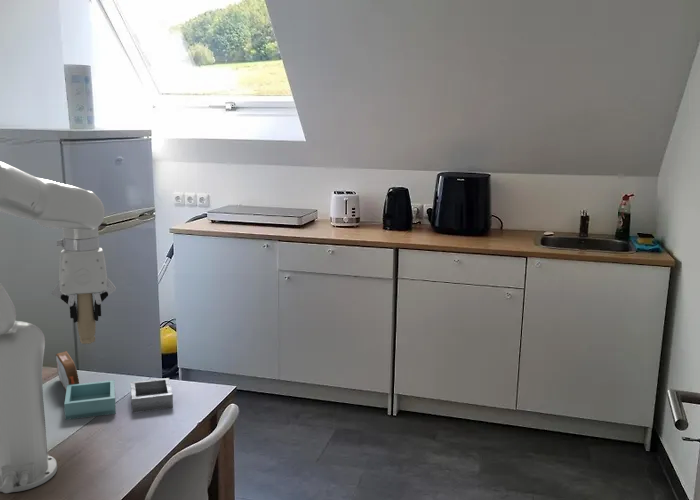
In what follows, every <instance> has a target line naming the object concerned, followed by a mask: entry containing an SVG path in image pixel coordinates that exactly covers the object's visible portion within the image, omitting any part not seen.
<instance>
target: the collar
mask: <svg viewBox="0 0 700 500" xmlns="http://www.w3.org/2000/svg"><path fill="white" fill-rule="evenodd" d="M130 395H131V397H130V398H131V399H130V400H131V410H132V414H134V413H143V412H149V411H159V410H165V409H167V410H168V409H173V408H174V400H173V398H174V395H173V389H172V385H171V381H170V377H166V378H165V377H164V378H156V379H147V380H139V381H137V380H136V381H130Z"/></svg>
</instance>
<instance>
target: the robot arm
mask: <svg viewBox="0 0 700 500" xmlns="http://www.w3.org/2000/svg"><path fill="white" fill-rule="evenodd" d="M104 206H105V205H104V204H103V202H102V200H101V199H100V197H99V196H98V195H96V193H95V192H94V191H92V190H87V189H84V188H81V187H78V186H74V185H70V184H65V183H62V182H61V183H60V182H56V181H53V180H50V179H46V178H41V177H36V176H35V175H32V174H30V173H28V172H26V171H23V170H21V169H19V168H17V167H14V166H12V165H10V164H8V163H5V162H4V161H0V212H1V213H3V214H7V215H9V216H13V217H16V218H19V219H24V220H31V221H35V222H36V223H37V225H39V226H40V227H43V228H47V229H48V228H49V229H62V238H61V239H56V246H57V247H62V248H63V249H62V250H61V251H60V254H59V263H58V265H59V266H58V267H59V268H58V269H59V273H58V274H59V275H58V276H59V278H58V279H59V280H58V282H57V283H56V285H55V286H54V288H53V289H52V292H51V294H52V296H55V297H56V298H57V299H61V300H62V301H63V302H64V303H65V304H67V305H68V307H69V316H70V319H73V323H74V324H75V323H77V302H76V301H75V298H76V297H75V296H76V295H77V294H90V293H92V294H93V296H94V301H93V305H94V312H95V322H97V321H98V322H99V317H102V305H101V304H102V303H103V302H104V300H106V299H107V297H108V296H110V295H112V294H113V293H114V292H116V291H117V287H116V286H115V284H114V282H112V281H111V279H110V278H109V277H108V274H107V273H108V272H107V264H106V258H105V254H104V250H103V248H102V247H100V237H99V227H100V226H101V225H102V223H103V221H104V219H105V213H106V212H105V207H104ZM16 319H17V310H16V307H15V305H14V302H13V301H12V299H11V297H10V295H9V293H8V292H7V290H6V289H5V287H4V286H3V284H2V282H0V493H4V494H10V493H17V492H23V491H28V490H31V489H33V488H37V487H39V486H41V485H43V484H44V483H46V482H48V481H50V479H52V478H53V476H55V474H56V472H57V471H58V462H57V460H56V458H54V457H53V456H51V455H49V454H48V443H47V442H48V440H47V430H46V428H47V427H46V418H45V417H46V416H45V404H44V403H45V401H44V389H43V388H44V386H43V364H44V355H45V348H46V347H45V346H46V339H45V335H44V332H43V331H42V329H41V328H40V327H39V326H37V325H35V324H33V323H30V322H28V321H27V322H26V321H21V320H16Z"/></svg>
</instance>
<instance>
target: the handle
mask: <svg viewBox="0 0 700 500" xmlns="http://www.w3.org/2000/svg"><path fill="white" fill-rule="evenodd" d="M93 296H94V295H93V293H90V294H76V304H77V322H76V323H77V331H78V334H79V335H78V336H79V341H80V343H81V344H82V345H91V344H92V343H94V342H96V336H95V335H96V322H97V321H96V320H95V312H94V298H93Z"/></svg>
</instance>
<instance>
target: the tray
mask: <svg viewBox="0 0 700 500" xmlns="http://www.w3.org/2000/svg"><path fill="white" fill-rule="evenodd" d="M115 385H116V383H115V379H113V380H111V379H110V380H104V381H103V380H101V381H93V382H84V383H79V384H73V385H67V390H65V397H64V398H65V399H64V419H65V421H68V420H75V419H83V418H91V417H92V418H93V417H99V416H107V415H115V414H117V413H116V411H117V410H116V408H117V407H116V386H115Z"/></svg>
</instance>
